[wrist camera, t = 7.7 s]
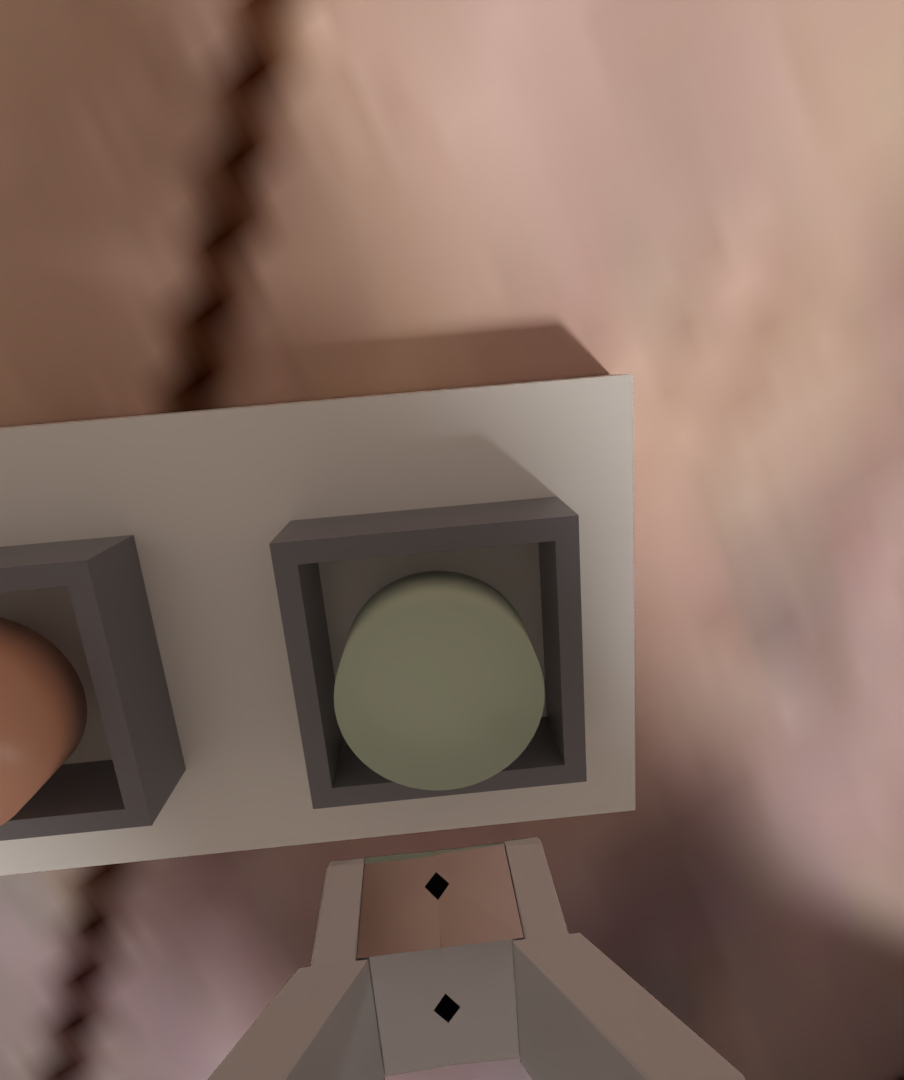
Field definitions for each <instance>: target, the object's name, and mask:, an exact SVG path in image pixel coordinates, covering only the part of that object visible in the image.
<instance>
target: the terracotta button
mask: <svg viewBox="0 0 904 1080" xmlns="http://www.w3.org/2000/svg"><path fill="white" fill-rule="evenodd" d="M86 721H87V702H86V696H85V692H84V689H83V686H82V683H81V680H80V678H79V676H78V674H77V672H76V671H75V669H74V668H73V666H72V665H71V663H70V662H69V660H68V659H67V658H66V657H65V655H64V654H63V653H62V652H61V651H60V650H59V649H58V648H57V647H56V646H55V645H54V644H53V643H51V642H50V641H49V640H47V639H46V638H45V637H43V636H42V635H41V634H39V633H37V632H36V631H34V630H32V629H30V628H29V627H26V626H24V625H22V624H20V623H17V622H15V621H12V620H8V619H5V618H2V617H0V826H1V825H3V824H4V823H6V822H7V821H8V820H10V819H11V818H12V817H13V816H15V815H16V814H17V813H18V811H19V810H20V809H21V808H22V807H23V806H24V805H25V804H26V803H27V802H28V801H29V800H30V799H31V798H32V796H33V795H34V794H35V793H36V792H37V791H38V790H39V789H40V788H41V787H42V786H43V785H44V784H45V783H46V781H47V780H48V779H49V778H50V777H51V776H52V775H53V774H54V773H55V772H56V771H57V770H58V769H59V768H60V766H61V765H62V764H63V763H64V762H65V761H66V760H67V759H68V758H69V757H70V756H71V755H72V754H73V752H74V751H75V749H76V748H77V746H78V745H79V743H80V741H81V739H82V736H83V734H84V730H85V727H86Z"/></svg>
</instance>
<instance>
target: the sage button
mask: <svg viewBox="0 0 904 1080" xmlns="http://www.w3.org/2000/svg"><path fill="white" fill-rule="evenodd" d="M544 695H545V688H544V680H543V675H542V671H541V667H540V664H539V661H538V659H537V657H536V654H535V652H534V649H533V647H532V644H531V642H530V639H529V637H528V635H527V632H526V630H525V627H524V625H523V623H522V620H521V618H520V616H519V615H518V613H517V611H516V610H515V608H514V607H513V606H512V605H511V603H510V602H509V601H508V600H507V599H506V598H505V597H504V596H503V595H502V594H501V593H500V592H499V591H497V590H496V589H495V588H493V587H492V586H490V585H489V584H487V583H485V582H483V581H481V580H479V579H477V578H474V577H471V576H469V575H466V574H461V573H457V572H450V571H427V572H421V573H415V574H412V575H409V576H405V577H403V578H400V579H398V580H396V581H393V582H392V583H390V584H388V585H387V586H385V587H383V588H382V589H381V590H379V591H378V592H377V593H376V594H374V595H373V596H372V597H371V598H370V599H369V600H368V601H367V602H366V603H365V605H364V606H363V607H362V609H361V610H360V611H359V613H358V614H357V616H356V618H355V620H354V621H353V623H352V626H351V629H350V631H349V634H348V637H347V641H346V644H345V648H344V651H343V654H342V658H341V661H340V665H339V668H338V672H337V676H336V680H335V685H334V709H335V714H336V718H337V723H338V725H339V728H340V730H341V733H342V735H343V737H344V739H345V740H346V742H347V744H348V746H349V747H350V748H351V750H352V751H353V752H354V754H355V755H356V756H357V757H358V758H359V759H360V760H361V761H362V762H363V763H364V764H365V765H367V766H368V767H369V768H370V769H372V770H373V771H374V772H376V773H377V774H379V775H381V776H382V777H384V778H386V779H388V780H391V781H393V782H395V783H397V784H401V785H404V786H407V787H411V788H416V789H422V790H435V791H437V790H452V789H458V788H463V787H467V786H470V785H474V784H477V783H479V782H482V781H484V780H487V779H488V778H490V777H492V776H494V775H496V774H498V773H499V772H501V771H502V770H503V769H505V768H506V767H508V766H509V765H510V764H511V763H512V762H513V761H514V760H515V759H517V758H518V757H519V755H520V754H521V753H522V752H523V751H524V750H525V748H526V747H527V746H528V744H529V743H530V741H531V739H532V738H533V736H534V734H535V732H536V730H537V728H538V726H539V723H540V719H541V716H542V713H543V707H544Z"/></svg>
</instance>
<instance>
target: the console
mask: <svg viewBox="0 0 904 1080" xmlns="http://www.w3.org/2000/svg"><path fill="white" fill-rule="evenodd" d="M427 571H450V572H457V573H461V574H466V575H469V576H471V577H474V578H477V579H479V580H481V581H483V582H485V583H487V584H489V585H490V586H492V587H493V588H495V589H496V590H497V591H499V592H500V593H501V594H502V595H503V596H504V597H505V598H506V599H507V600H508V601H509V602H510V603H511V605H512V606H513V607H514V608H515V610H516V611H517V613H518V615H519V616H520V618H521V620H522V623H523V625H524V627H525V630H526V632H527V635H528V637H529V639H530V642H531V644H532V647H533V649H534V652H535V654H536V657H537V659H538V661H539V664H540V667H541V671H542V675H543V680H544V688H545V695H544V707H543V713H542V716H541V719H540V723H539V726H538V728H537V730H536V732H535V734H534V736H533V738H532V739H531V741H530V743H529V744H528V746H527V747H526V748H525V750H524V751H523V752H522V753H521V754H520V755H519V757H518V758H517V759H515V760H514V761H513V762H512V763H511V764H510V765H509V766H508V767H506V768H505V769H503V770H502V771H501V772H499V773H498V774H496V775H494V776H492V777H490V778H488V779H487V780H484V781H482V782H479V783H477V784H474V785H470V786H467V787H463V788H458V789H452V790H437V791H435V790H422V789H416V788H411V787H407V786H404V785H401V784H397V783H395V782H393V781H391V780H388V779H386V778H384V777H382V776H381V775H379V774H377V773H376V772H374V771H373V770H372V769H370V768H369V767H368V766H367V765H365V764H364V763H363V762H362V761H361V760H360V759H359V758H358V757H357V756H356V755H355V754H354V752H353V751H352V750H351V748H350V747H349V746H348V744H347V742H346V740H345V739H344V737H343V735H342V733H341V730H340V728H339V725H338V723H337V718H336V714H335V709H334V685H335V680H336V676H337V672H338V668H339V665H340V661H341V658H342V654H343V651H344V648H345V644H346V641H347V637H348V634H349V631H350V629H351V626H352V623H353V621H354V620H355V618H356V616H357V614H358V613H359V611H360V610H361V609H362V607H363V606H364V605H365V603H366V602H367V601H368V600H369V599H370V598H371V597H372V596H373V595H374V594H376V593H377V592H378V591H379V590H381V589H382V588H383V587H385V586H387V585H388V584H390V583H392V582H393V581H396V580H398V579H400V578H403V577H405V576H409V575H412V574H415V573H421V572H427ZM0 617H2V618H5V619H8V620H12V621H15V622H17V623H20V624H22V625H24V626H26V627H29V628H30V629H32V630H34V631H36V632H37V633H39V634H41V635H42V636H43V637H45V638H46V639H47V640H49V641H50V642H51V643H53V644H54V645H55V646H56V647H57V648H58V649H59V650H60V651H61V652H62V653H63V654H64V655H65V657H66V658H67V659H68V660H69V662H70V663H71V665H72V666H73V668H74V669H75V671H76V672H77V674H78V676H79V678H80V680H81V683H82V686H83V689H84V692H85V696H86V702H87V721H86V727H85V730H84V734H83V736H82V739H81V741H80V743H79V745H78V746H77V748H76V749H75V751H74V752H73V754H72V755H71V756H70V757H69V758H68V759H67V760H66V761H65V762H64V763H63V764H62V765H61V766H60V768H59V769H58V770H57V771H56V772H55V773H54V774H53V775H52V776H51V777H50V778H49V779H48V780H47V781H46V783H45V784H44V785H43V786H42V787H41V788H40V789H39V790H38V791H37V792H36V793H35V794H34V795H33V796H32V798H31V799H30V800H29V801H28V802H27V803H26V804H25V805H24V806H23V807H22V808H21V809H20V810H19V811H18V813H17V814H16V815H15V816H13V817H12V818H11V819H10V820H8V821H7V822H6V823H4V824H3V825H1V826H0V876H1V875H11V874H20V873H30V872H40V871H49V870H59V869H69V868H79V867H88V866H98V865H108V864H118V863H127V862H137V861H147V860H156V859H166V858H176V857H186V856H195V855H205V854H215V853H225V852H234V851H244V850H254V849H263V848H273V847H283V846H293V845H302V844H312V843H322V842H331V841H341V840H351V839H361V838H370V837H380V836H390V835H400V834H409V833H419V832H429V831H438V830H448V829H458V828H468V827H477V826H487V825H497V824H507V823H516V822H526V821H536V820H545V819H555V818H565V817H575V816H584V815H594V814H604V813H614V812H623V811H633V810H636V803H635V656H634V509H633V374H617V375H601V376H589V377H578V378H566V379H554V380H543V381H531V382H519V383H508V384H496V385H485V386H473V387H461V388H450V389H438V390H427V391H415V392H403V393H392V394H380V395H368V396H357V397H345V398H334V399H322V400H310V401H299V402H287V403H276V404H264V405H252V406H241V407H229V408H217V409H206V410H194V411H183V412H171V413H159V414H148V415H136V416H125V417H113V418H101V419H90V420H78V421H66V422H55V423H43V424H32V425H20V426H8V427H0Z"/></svg>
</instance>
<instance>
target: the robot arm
mask: <svg viewBox="0 0 904 1080" xmlns="http://www.w3.org/2000/svg"><path fill="white" fill-rule="evenodd" d="M515 1058H520V1062H521V1063H522V1065H523V1066H524V1068H525V1069H526V1070H527V1072H528V1073H529V1075H530V1076H531V1077H532V1079H533V1080H746V1079H745V1077H744V1075H743V1074H742V1073H741V1072H739V1071H738V1070H737V1069H736V1068H735V1067H734V1066H732V1065H731V1064H730V1063H729V1062H728V1061H727V1060H726V1059H724V1058H723V1057H722V1056H721V1055H720V1054H719V1053H718V1052H716V1051H715V1050H714V1049H713V1048H712V1047H711V1046H709V1045H708V1044H707V1043H706V1042H705V1041H704V1040H703V1039H701V1038H700V1037H699V1036H698V1035H697V1034H696V1033H695V1032H693V1031H692V1030H691V1029H690V1028H689V1027H688V1026H686V1025H685V1024H684V1023H683V1022H682V1021H681V1020H680V1019H678V1018H677V1017H676V1016H675V1015H674V1014H673V1013H672V1012H670V1011H669V1010H668V1009H667V1008H666V1007H665V1006H663V1005H662V1004H661V1003H660V1002H659V1001H658V1000H657V999H655V998H654V997H653V996H652V995H651V994H650V993H649V992H647V991H646V990H645V989H644V988H643V987H642V986H640V985H639V984H638V983H637V982H636V981H635V980H634V979H632V978H631V977H630V976H629V975H628V974H627V973H626V972H624V971H623V970H622V969H621V968H620V967H619V966H618V965H616V964H615V963H614V962H613V961H612V960H611V959H609V958H608V957H607V956H606V955H605V954H604V953H603V952H601V951H600V950H599V949H598V948H597V947H596V946H595V945H593V944H592V943H591V942H590V941H589V940H588V939H586V938H585V937H584V936H583V935H582V934H581V933H573V934H569V933H568V930H567V926H566V923H565V920H564V916H563V913H562V909H561V906H560V903H559V899H558V896H557V893H556V889H555V886H554V883H553V879H552V876H551V872H550V869H549V866H548V862H547V859H546V856H545V852H544V849H543V846H542V842H541V841H540V840H539V838H538V837H533V838H526V839H519V840H512V841H505V842H504V844H503V843H494V844H486V845H478V846H470V847H462V848H454V849H446V850H438V851H429V852H419V853H408V854H397V855H386V856H375V857H366V859H364V858H362V859H351V860H340V861H330V863H329V866H328V868H327V870H326V874H325V880H324V887H323V893H322V899H321V905H320V911H319V917H318V923H317V929H316V935H315V941H314V948H313V954H312V960H311V966H310V967H304V968H299V969H298V970H297V971H296V972H295V974H294V975H293V976H292V977H291V978H290V980H289V981H288V982H287V983H286V985H285V986H284V987H283V988H282V989H281V991H280V992H279V993H278V994H277V995H276V997H275V998H274V999H273V1000H272V1002H271V1003H270V1004H269V1005H268V1006H267V1008H266V1009H265V1010H264V1011H263V1013H262V1014H261V1015H260V1016H259V1017H258V1019H257V1020H256V1021H255V1022H254V1024H253V1025H252V1026H251V1027H250V1028H249V1030H248V1031H247V1032H246V1033H245V1034H244V1036H243V1037H242V1038H241V1039H240V1041H239V1042H238V1043H237V1044H236V1045H235V1047H234V1048H233V1049H232V1050H231V1052H230V1053H229V1054H228V1055H227V1056H226V1058H225V1059H224V1060H223V1061H222V1063H221V1064H220V1065H219V1066H218V1067H217V1069H216V1070H215V1071H214V1072H213V1074H212V1075H211V1076H210V1077H209V1078H208V1080H385V1077H384V1076H390V1075H396V1074H402V1073H408V1072H413V1071H419V1070H425V1069H431V1068H437V1067H443V1066H449V1065H456V1064H466V1063H476V1062H486V1061H495V1060H505V1059H515ZM452 1061H453V1064H452Z"/></svg>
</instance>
